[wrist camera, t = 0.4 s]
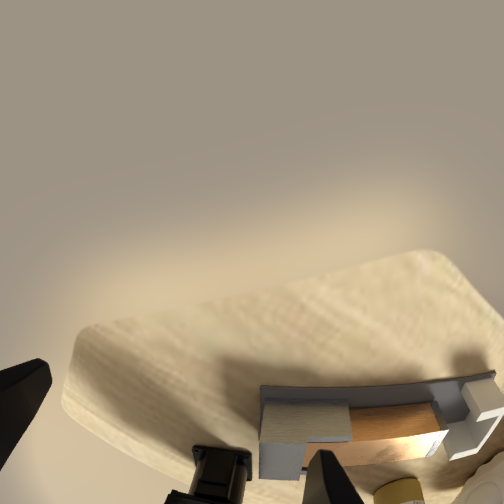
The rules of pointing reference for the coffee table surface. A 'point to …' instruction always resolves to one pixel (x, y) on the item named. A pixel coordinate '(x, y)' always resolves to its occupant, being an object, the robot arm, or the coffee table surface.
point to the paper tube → (400, 493)
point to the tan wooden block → (387, 435)
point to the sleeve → (298, 433)
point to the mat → (388, 395)
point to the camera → (485, 484)
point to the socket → (475, 419)
